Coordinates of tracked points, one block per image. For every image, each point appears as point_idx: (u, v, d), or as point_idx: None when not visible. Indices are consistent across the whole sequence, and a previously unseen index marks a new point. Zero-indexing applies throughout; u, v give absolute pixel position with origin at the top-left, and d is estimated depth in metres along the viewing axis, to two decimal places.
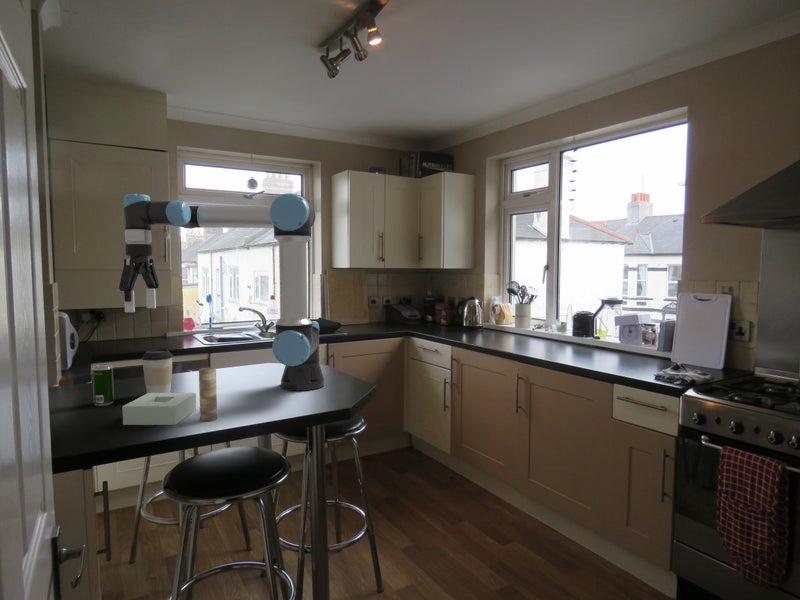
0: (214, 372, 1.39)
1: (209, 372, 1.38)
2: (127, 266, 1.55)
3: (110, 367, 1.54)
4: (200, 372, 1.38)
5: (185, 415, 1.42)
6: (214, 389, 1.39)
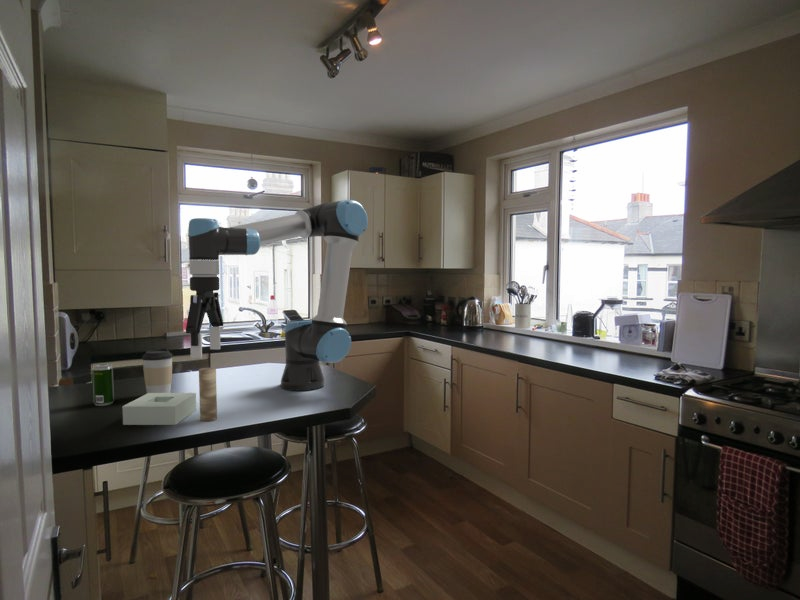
0: (214, 372, 1.39)
1: (209, 372, 1.38)
2: (194, 304, 1.31)
3: (110, 367, 1.54)
4: (200, 372, 1.38)
5: (185, 415, 1.42)
6: (214, 389, 1.39)
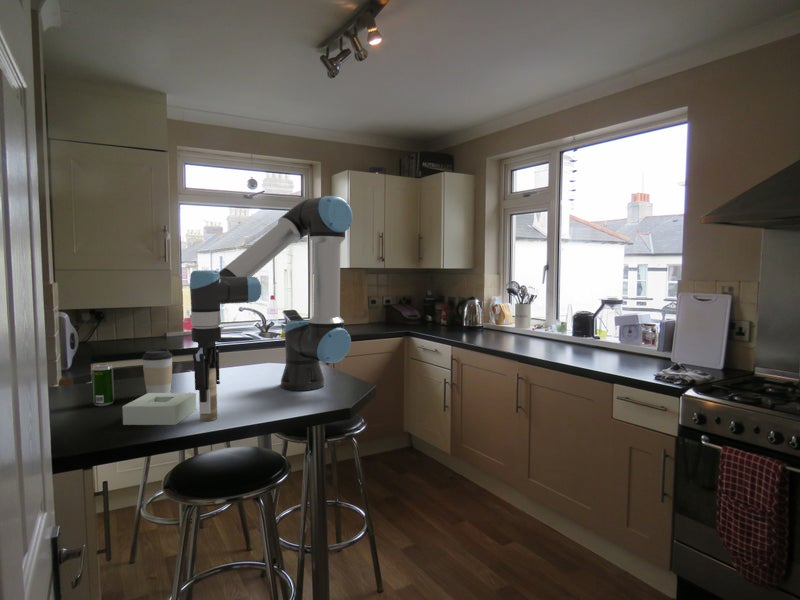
0: (214, 372, 1.39)
1: (209, 372, 1.38)
2: (198, 363, 1.33)
3: (110, 367, 1.54)
4: None
5: (185, 415, 1.42)
6: (214, 389, 1.39)
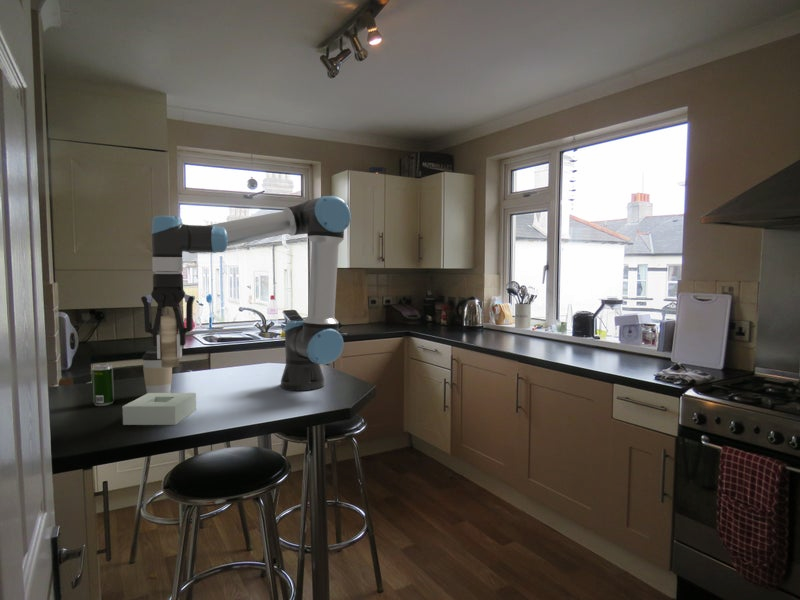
0: (165, 319, 1.37)
1: (160, 318, 1.38)
2: None
3: (110, 367, 1.54)
4: None
5: (185, 415, 1.42)
6: (165, 336, 1.38)
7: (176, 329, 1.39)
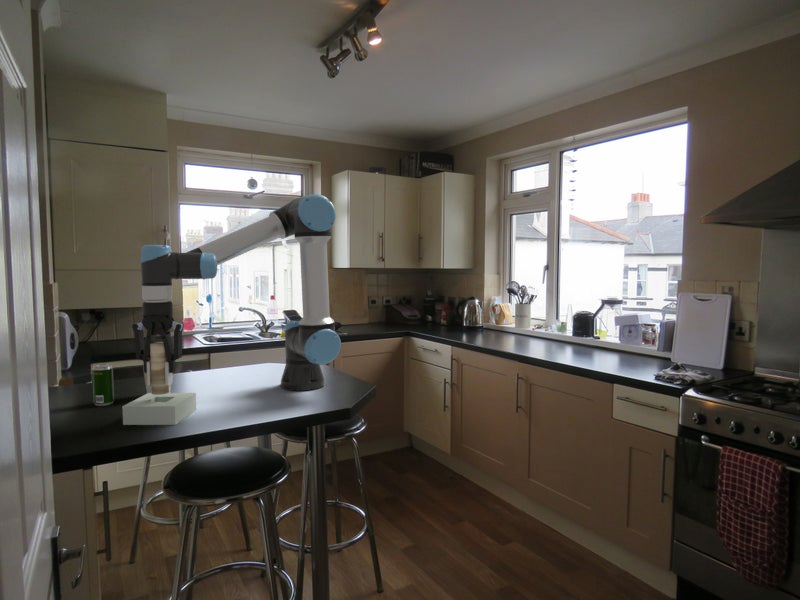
0: (153, 347, 1.39)
1: (150, 345, 1.39)
2: None
3: (110, 367, 1.54)
4: None
5: (185, 415, 1.42)
6: (153, 364, 1.39)
7: (165, 356, 1.40)
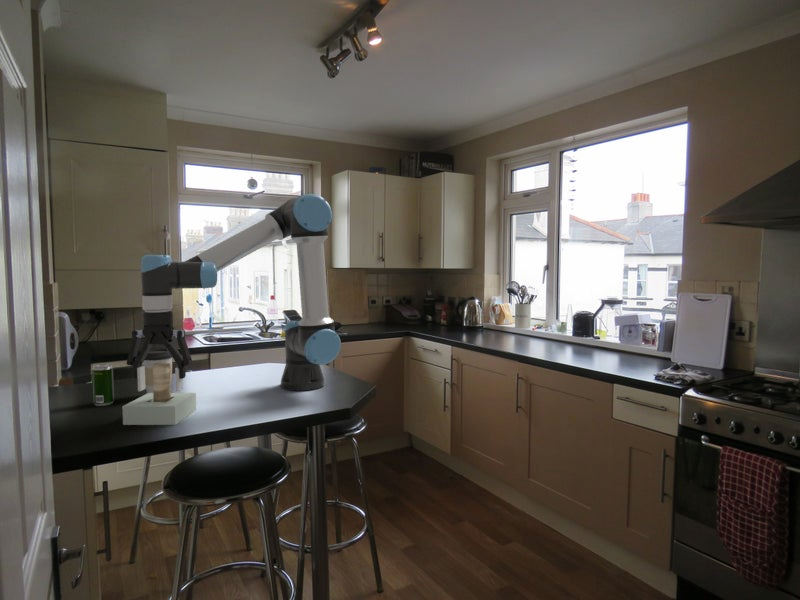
0: (156, 368, 1.39)
1: (153, 366, 1.40)
2: None
3: (110, 367, 1.54)
4: None
5: (185, 415, 1.42)
6: (155, 384, 1.40)
7: (167, 377, 1.41)
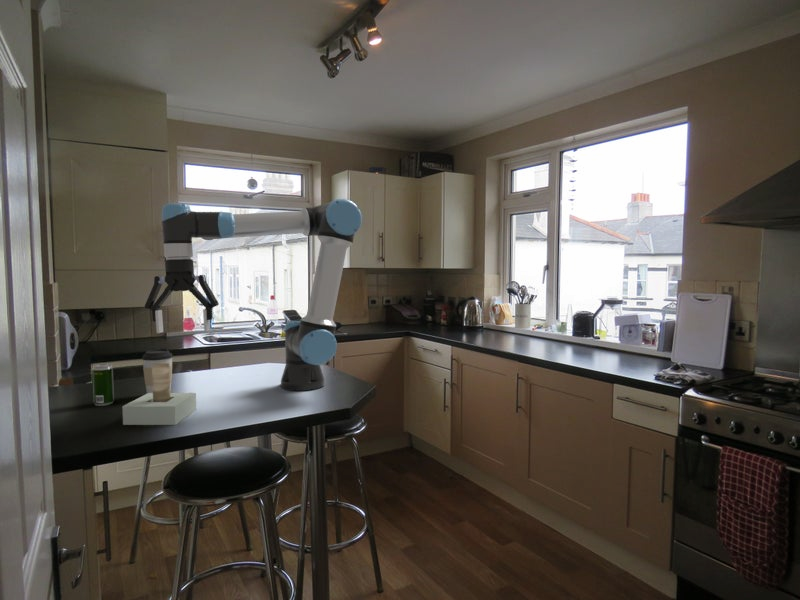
0: (155, 368, 1.39)
1: (152, 366, 1.40)
2: None
3: (110, 367, 1.54)
4: None
5: (185, 415, 1.42)
6: (155, 385, 1.40)
7: (166, 377, 1.41)
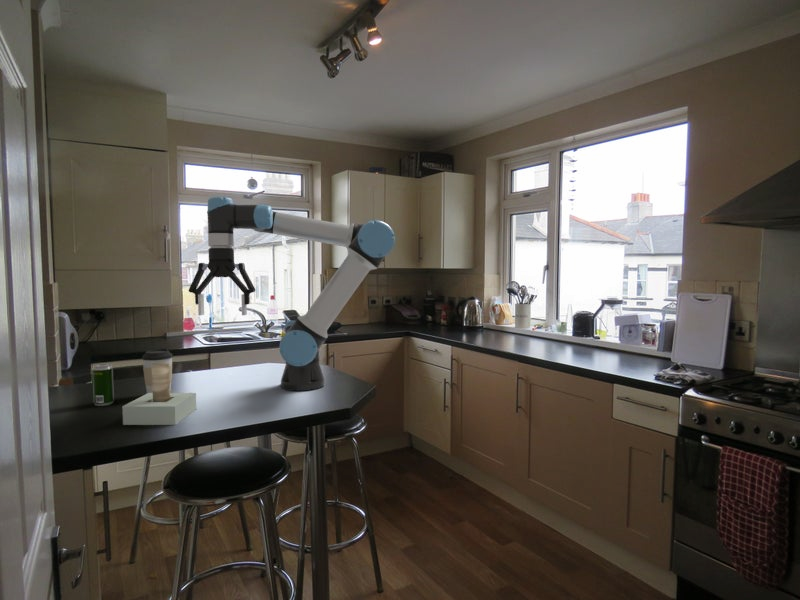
0: (154, 368, 1.39)
1: None
2: None
3: (110, 367, 1.54)
4: None
5: (185, 415, 1.42)
6: (155, 385, 1.39)
7: (166, 378, 1.41)
